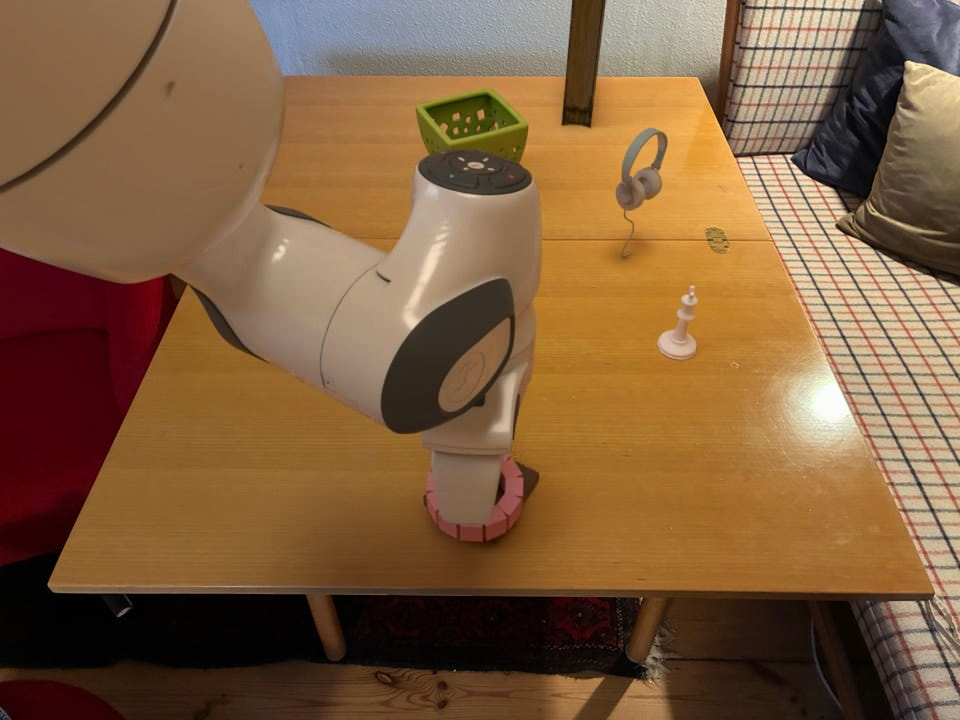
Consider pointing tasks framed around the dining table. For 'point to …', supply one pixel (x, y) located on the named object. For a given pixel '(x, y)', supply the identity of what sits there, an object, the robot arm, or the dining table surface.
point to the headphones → (640, 175)
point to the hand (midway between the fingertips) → (477, 459)
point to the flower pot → (473, 124)
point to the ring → (502, 512)
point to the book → (582, 60)
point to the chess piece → (680, 331)
